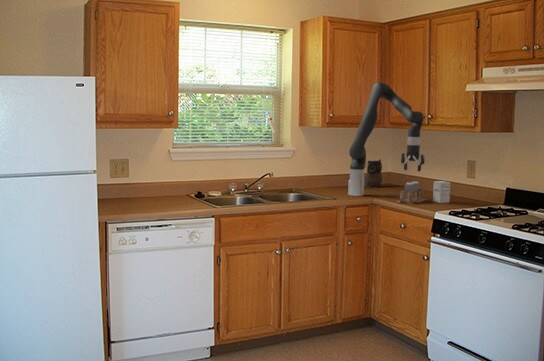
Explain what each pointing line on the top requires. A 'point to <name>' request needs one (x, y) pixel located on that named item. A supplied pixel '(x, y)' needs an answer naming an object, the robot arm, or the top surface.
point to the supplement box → (441, 192)
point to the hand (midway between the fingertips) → (412, 170)
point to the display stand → (411, 197)
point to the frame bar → (412, 187)
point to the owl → (373, 174)
